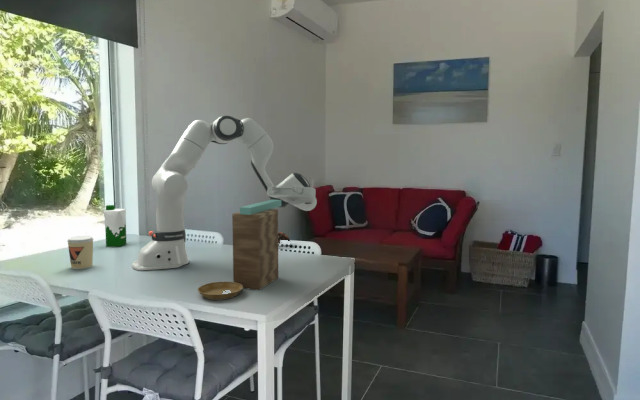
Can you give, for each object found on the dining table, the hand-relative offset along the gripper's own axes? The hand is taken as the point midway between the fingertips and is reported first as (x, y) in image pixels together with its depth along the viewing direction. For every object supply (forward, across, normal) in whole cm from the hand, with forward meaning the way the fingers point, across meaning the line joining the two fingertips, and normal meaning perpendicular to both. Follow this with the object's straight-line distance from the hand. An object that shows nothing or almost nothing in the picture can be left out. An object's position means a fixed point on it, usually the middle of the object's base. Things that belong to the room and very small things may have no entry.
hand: (283, 188), depth 190 cm
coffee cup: (+21, -77, +39) cm, 89 cm away
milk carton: (-15, -96, +26) cm, 100 cm away
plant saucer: (+29, -4, +44) cm, 53 cm away
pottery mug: (-43, -19, +20) cm, 51 cm away
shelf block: (+13, 0, +38) cm, 41 cm away
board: (+16, 0, +12) cm, 21 cm away
